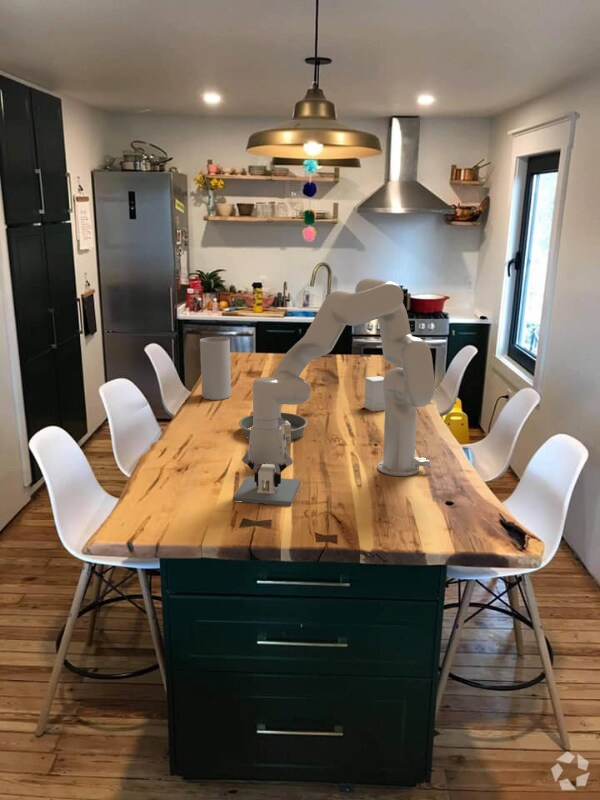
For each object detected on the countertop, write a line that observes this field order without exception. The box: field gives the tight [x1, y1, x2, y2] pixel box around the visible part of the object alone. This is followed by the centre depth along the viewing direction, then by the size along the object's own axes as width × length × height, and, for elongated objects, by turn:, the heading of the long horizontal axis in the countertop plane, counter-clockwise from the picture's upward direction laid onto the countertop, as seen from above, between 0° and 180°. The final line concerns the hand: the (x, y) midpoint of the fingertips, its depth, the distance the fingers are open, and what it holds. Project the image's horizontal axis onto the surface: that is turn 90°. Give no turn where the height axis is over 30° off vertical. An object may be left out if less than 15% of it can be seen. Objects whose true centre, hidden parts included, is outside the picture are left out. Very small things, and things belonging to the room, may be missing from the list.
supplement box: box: [265, 421, 292, 465], centre depth 210 cm, size 8×5×13 cm, turn 105°
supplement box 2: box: [363, 375, 385, 412], centre depth 271 cm, size 7×7×13 cm
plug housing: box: [258, 463, 276, 493], centre depth 187 cm, size 4×6×6 cm, turn 171°
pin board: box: [232, 475, 301, 507], centre depth 188 cm, size 16×16×4 cm
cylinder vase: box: [199, 336, 232, 401], centre depth 287 cm, size 12×12×25 cm
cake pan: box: [238, 412, 308, 441], centre depth 241 cm, size 25×25×4 cm
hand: (267, 484), depth 188 cm, fingers open, 4 cm apart
